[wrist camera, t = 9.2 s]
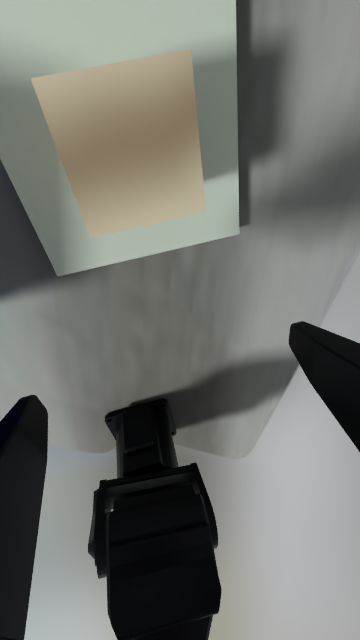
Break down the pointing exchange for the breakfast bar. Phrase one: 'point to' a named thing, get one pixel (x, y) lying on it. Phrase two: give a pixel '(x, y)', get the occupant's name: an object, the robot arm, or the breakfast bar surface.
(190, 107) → the maple block
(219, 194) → the sage pad
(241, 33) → the breakfast bar surface
